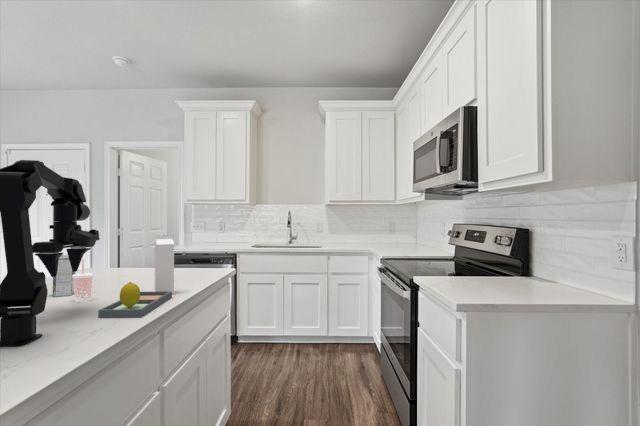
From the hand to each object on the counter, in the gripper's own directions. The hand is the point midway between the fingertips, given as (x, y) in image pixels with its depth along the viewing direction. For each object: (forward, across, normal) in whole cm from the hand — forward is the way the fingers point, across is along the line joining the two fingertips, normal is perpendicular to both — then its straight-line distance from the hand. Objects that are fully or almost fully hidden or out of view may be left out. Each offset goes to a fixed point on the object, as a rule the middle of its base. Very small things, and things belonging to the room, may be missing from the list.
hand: (64, 274), depth 103 cm
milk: (+12, +26, -19) cm, 34 cm away
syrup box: (+12, +26, +17) cm, 33 cm away
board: (+12, +8, -18) cm, 23 cm away
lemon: (+11, +2, -18) cm, 21 cm away
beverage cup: (+12, +17, +5) cm, 21 cm away
